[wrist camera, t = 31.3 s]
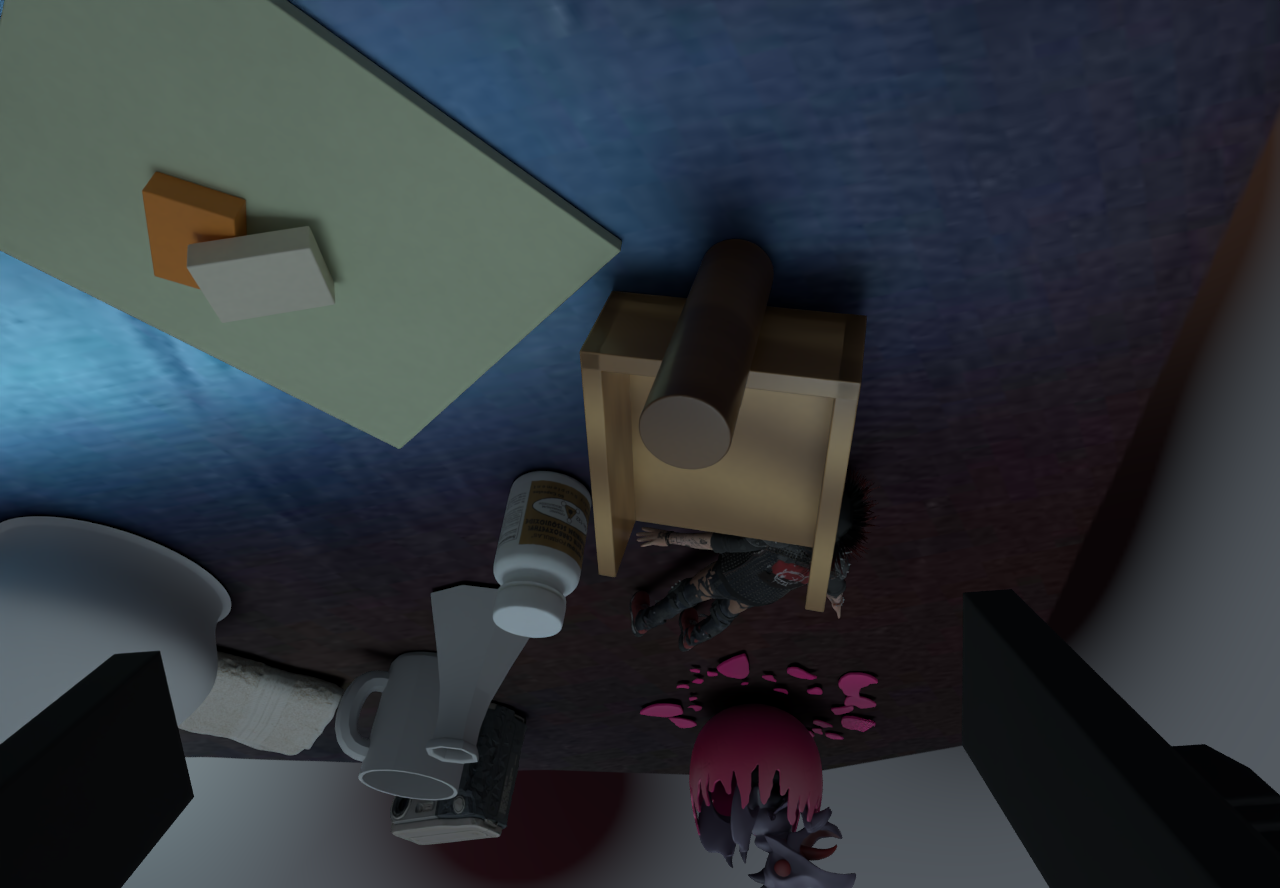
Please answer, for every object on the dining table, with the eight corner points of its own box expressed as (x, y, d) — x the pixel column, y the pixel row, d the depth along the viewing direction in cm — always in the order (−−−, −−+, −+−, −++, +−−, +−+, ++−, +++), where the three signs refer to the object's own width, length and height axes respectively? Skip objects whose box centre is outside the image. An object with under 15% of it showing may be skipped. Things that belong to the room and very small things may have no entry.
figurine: (556, 647, 51) (751, 506, 36) (572, 557, 54) (756, 395, 39) (748, 706, 55) (993, 603, 40) (751, 620, 58) (979, 495, 43)
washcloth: (181, 702, 81) (167, 735, 80) (200, 638, 68) (184, 676, 67) (308, 734, 85) (297, 766, 83) (349, 679, 72) (337, 715, 70)
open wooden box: (831, 538, 40) (812, 723, 33) (623, 507, 42) (561, 675, 35) (877, 250, 31) (864, 417, 24) (608, 227, 33) (518, 375, 26)
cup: (468, 694, 72) (443, 806, 67) (348, 663, 69) (312, 777, 64) (494, 666, 67) (469, 785, 62) (365, 631, 64) (327, 753, 59)
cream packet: (185, 267, 31) (186, 243, 32) (221, 323, 34) (222, 300, 35) (310, 248, 32) (309, 224, 32) (336, 305, 35) (334, 282, 35)
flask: (515, 579, 55) (483, 735, 49) (552, 629, 61) (527, 775, 55) (413, 583, 57) (370, 734, 51) (458, 631, 63) (424, 773, 56)
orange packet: (153, 276, 34) (166, 256, 35) (237, 301, 35) (248, 281, 36) (140, 190, 31) (155, 169, 31) (234, 219, 31) (246, 199, 32)
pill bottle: (608, 491, 46) (589, 624, 42) (564, 522, 49) (541, 650, 45) (538, 457, 44) (510, 592, 40) (496, 492, 47) (466, 621, 43)
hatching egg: (790, 760, 78) (792, 930, 70) (621, 719, 74) (602, 895, 66) (933, 690, 63) (956, 896, 55) (730, 634, 58) (722, 848, 50)
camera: (494, 696, 72) (468, 823, 66) (541, 720, 76) (520, 842, 70) (405, 716, 78) (374, 834, 72) (452, 737, 82) (426, 851, 76)
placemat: (-38, 218, 35) (-46, 228, 35) (50, -171, 23) (38, -163, 23) (402, 440, 44) (399, 450, 44) (622, 240, 33) (621, 251, 32)
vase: (290, 630, 65) (144, 1028, 50) (98, 631, 69) (-91, 1001, 54) (138, 501, 52) (-122, 990, 37) (-88, 512, 56) (-408, 958, 41)
